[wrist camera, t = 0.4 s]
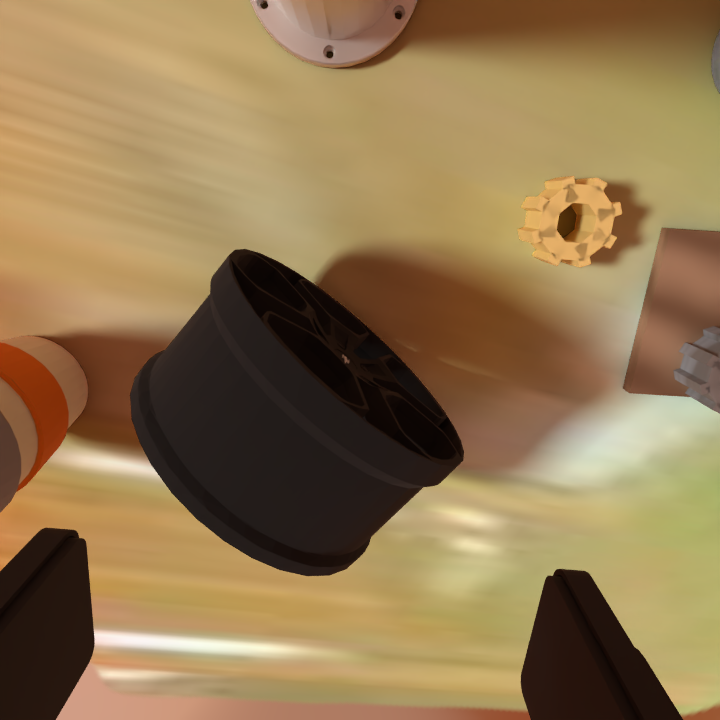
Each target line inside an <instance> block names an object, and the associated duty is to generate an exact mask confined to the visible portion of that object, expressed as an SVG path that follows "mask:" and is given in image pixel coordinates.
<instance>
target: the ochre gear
mask: <svg viewBox="0 0 720 720" xmlns="http://www.w3.org/2000/svg"><path fill="white" fill-rule="evenodd" d="M544 183H545V188H546V189H545V190H544V191H543V192H542V193H540V194H539V195H538V196H537V197H526V199H525V201H524V202H523V204H522V206H521V208H523V209H525V210H527V212H526V218H525V224H524V227H522V228H519V229H517V230H518V234H519V238H520V240H523V241H526V242H530V243H531V244H532V245H533V247H534V248H535V251H534V253H533V254H532V256H534V257H536V258H537V259H539V260H541V261H544V262H547V263H550V264H553V265H556V266H558V264H559V262H560V261H561V262H564V263H567V264H570V265H573V266H576V267H579V268H580V267H583V266H586V265H589V264H591V261H590V256H591V255H592V254H593V253H595V252H596V251H597V250H599V249H600V248H601V247H604V248H609V249H610V248H611V246H612V245H613V243H614V242H615V240H616V239H617V237H615V236H613V235H611V231H612V226H613V221H614V217H615V216H618V215H621V214H622V210H621V204H620V202H610V200H609V199H608V198H607V196H606V195H605V193H604V192H603V190H604V189H605V187H606V185H607V183H606V182H604V181H602V180H600V179H598V178H588V179H577V180H576V181H575V179H574V176H570V177H560V178H554V179H551V180H548V181H545V182H544ZM569 205H570V206H571V207H572V208H573V210H574V211H575V213H576V214H577V217H576V222H575V227H574V230H573V231H572V232H570V233H569V234H568V235H567V236H565V237H564V238H562V237H561V235H560V234H559V233H558V231H557V225H558V219H559V214H560V213H561V212H562V211H563V210H565V209H566V208H567V207H568V206H569Z"/></svg>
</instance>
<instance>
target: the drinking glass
mask: <svg viewBox="0 0 720 720" xmlns="http://www.w3.org/2000/svg"><path fill="white" fill-rule="evenodd" d="M712 76H713V79H714V83H715V86H716V88H717V90H718V92H719V93H720V30H719V33H718V35H717V37H716V40H715V43H714V47H713V52H712Z"/></svg>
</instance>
